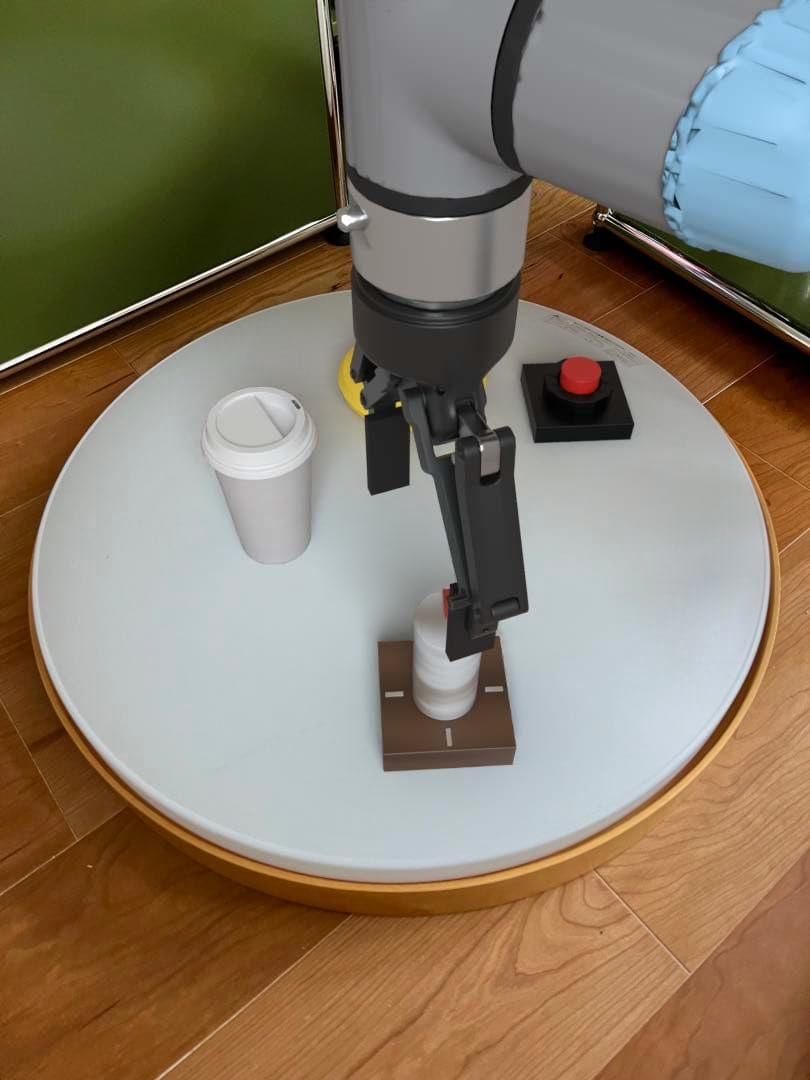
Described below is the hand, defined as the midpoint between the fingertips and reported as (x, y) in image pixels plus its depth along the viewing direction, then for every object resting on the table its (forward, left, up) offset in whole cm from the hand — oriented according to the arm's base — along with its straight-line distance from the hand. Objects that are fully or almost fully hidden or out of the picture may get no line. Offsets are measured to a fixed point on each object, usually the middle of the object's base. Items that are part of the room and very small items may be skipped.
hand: (426, 562), depth 55 cm
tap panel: (+1, -2, -21) cm, 21 cm away
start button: (+36, -19, -17) cm, 44 cm away
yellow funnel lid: (+39, -2, -21) cm, 44 cm away
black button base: (+36, -19, -21) cm, 46 cm away
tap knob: (+1, -2, -18) cm, 18 cm away
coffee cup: (+20, +12, -21) cm, 31 cm away
